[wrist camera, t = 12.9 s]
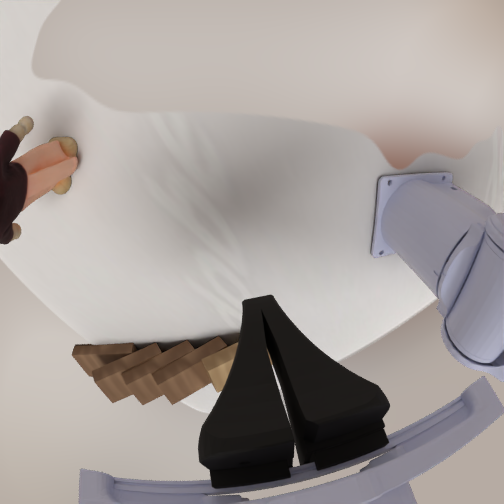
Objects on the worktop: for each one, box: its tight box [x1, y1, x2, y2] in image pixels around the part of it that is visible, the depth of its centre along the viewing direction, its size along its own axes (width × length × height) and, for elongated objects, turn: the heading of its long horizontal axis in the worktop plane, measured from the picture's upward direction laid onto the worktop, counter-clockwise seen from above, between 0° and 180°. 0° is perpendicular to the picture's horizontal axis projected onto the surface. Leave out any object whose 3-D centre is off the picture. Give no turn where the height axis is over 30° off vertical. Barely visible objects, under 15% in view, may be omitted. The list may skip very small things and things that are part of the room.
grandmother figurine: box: [0, 116, 78, 244], centre depth 10 cm, size 8×4×13 cm, turn 164°
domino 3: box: [121, 340, 195, 405], centre depth 26 cm, size 2×4×8 cm
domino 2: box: [92, 343, 162, 403], centre depth 25 cm, size 2×4×8 cm
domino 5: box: [201, 342, 272, 393], centre depth 27 cm, size 2×4×8 cm
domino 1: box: [72, 343, 138, 377], centre depth 27 cm, size 2×4×8 cm
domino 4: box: [152, 336, 228, 405], centre depth 26 cm, size 2×4×8 cm
